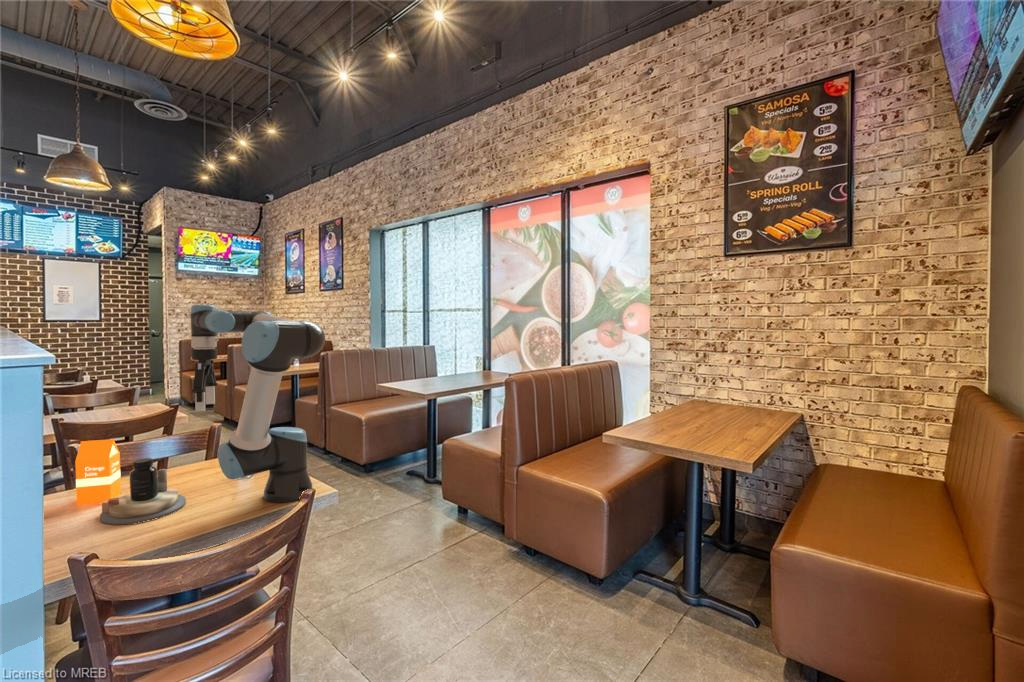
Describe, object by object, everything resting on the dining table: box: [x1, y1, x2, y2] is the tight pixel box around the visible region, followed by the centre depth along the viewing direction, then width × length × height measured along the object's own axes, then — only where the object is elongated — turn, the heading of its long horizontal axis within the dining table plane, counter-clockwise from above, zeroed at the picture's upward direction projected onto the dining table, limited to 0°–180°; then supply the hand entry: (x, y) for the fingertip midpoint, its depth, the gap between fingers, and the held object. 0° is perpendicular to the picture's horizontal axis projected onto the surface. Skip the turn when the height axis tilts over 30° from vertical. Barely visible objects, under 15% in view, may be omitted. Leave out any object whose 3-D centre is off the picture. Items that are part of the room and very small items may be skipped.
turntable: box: [108, 468, 179, 518], centre depth 142 cm, size 17×17×9 cm
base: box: [99, 494, 187, 526], centre depth 142 cm, size 21×21×4 cm
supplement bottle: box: [128, 457, 158, 501], centre depth 142 cm, size 7×7×12 cm
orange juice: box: [74, 438, 122, 506], centre depth 150 cm, size 8×9×20 cm
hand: (205, 407), depth 161 cm, fingers open, 13 cm apart
